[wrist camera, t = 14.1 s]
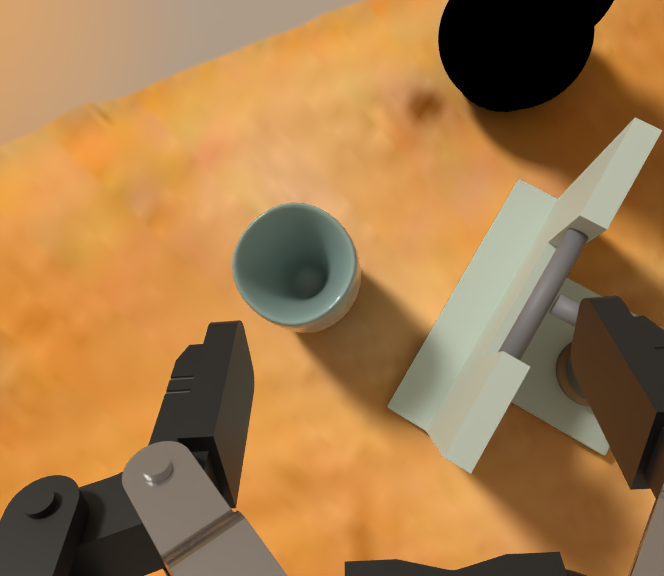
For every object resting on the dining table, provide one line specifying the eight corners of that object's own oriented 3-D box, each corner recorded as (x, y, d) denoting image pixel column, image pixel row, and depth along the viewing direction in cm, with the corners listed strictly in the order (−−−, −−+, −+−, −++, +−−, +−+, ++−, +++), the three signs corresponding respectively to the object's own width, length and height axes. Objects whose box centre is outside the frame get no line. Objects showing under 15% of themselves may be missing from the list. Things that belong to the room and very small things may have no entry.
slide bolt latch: (566, 515, 41) (665, 592, 27) (386, 406, 44) (385, 421, 29) (696, 276, 43) (856, 223, 28) (515, 183, 45) (577, 89, 31)
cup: (383, 284, 45) (382, 258, 35) (315, 357, 45) (294, 352, 35) (312, 219, 46) (291, 177, 37) (245, 290, 46) (206, 266, 36)
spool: (607, 420, 41) (676, 434, 31) (543, 383, 42) (590, 385, 32) (640, 359, 42) (719, 354, 32) (576, 324, 42) (633, 308, 32)
